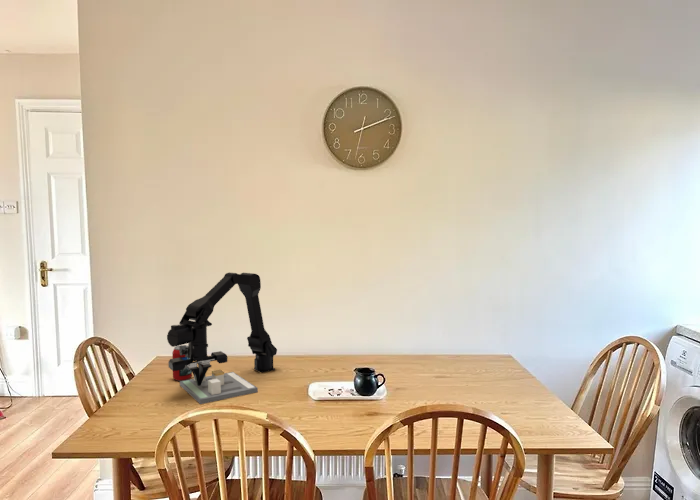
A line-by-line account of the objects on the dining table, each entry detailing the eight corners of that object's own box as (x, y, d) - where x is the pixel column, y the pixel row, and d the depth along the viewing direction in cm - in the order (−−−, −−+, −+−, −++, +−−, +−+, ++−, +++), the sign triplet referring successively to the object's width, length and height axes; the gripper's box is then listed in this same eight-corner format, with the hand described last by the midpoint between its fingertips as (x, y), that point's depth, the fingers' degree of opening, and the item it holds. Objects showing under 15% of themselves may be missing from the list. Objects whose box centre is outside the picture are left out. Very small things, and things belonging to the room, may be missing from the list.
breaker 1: (202, 378, 181) (202, 367, 181) (205, 381, 178) (205, 370, 178) (193, 380, 179) (193, 369, 179) (197, 382, 176) (197, 371, 176)
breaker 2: (216, 390, 169) (216, 378, 169) (220, 393, 166) (220, 381, 166) (208, 391, 167) (208, 380, 167) (211, 394, 164) (211, 383, 164)
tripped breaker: (220, 381, 177) (220, 369, 177) (224, 384, 174) (224, 372, 174) (211, 383, 176) (211, 371, 175) (215, 386, 173) (215, 373, 172)
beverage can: (186, 382, 182) (185, 349, 181) (169, 381, 183) (168, 348, 182) (195, 376, 188) (194, 345, 188) (179, 375, 190) (178, 344, 189)
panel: (233, 375, 190) (233, 371, 190) (257, 392, 172) (257, 387, 172) (179, 385, 178) (179, 381, 178) (200, 404, 160) (200, 399, 160)
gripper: (216, 332, 182) (216, 374, 183) (163, 339, 171) (164, 384, 172) (227, 338, 173) (228, 382, 174) (172, 346, 162) (173, 393, 163)
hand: (198, 385), depth 171 cm, fingers closed
